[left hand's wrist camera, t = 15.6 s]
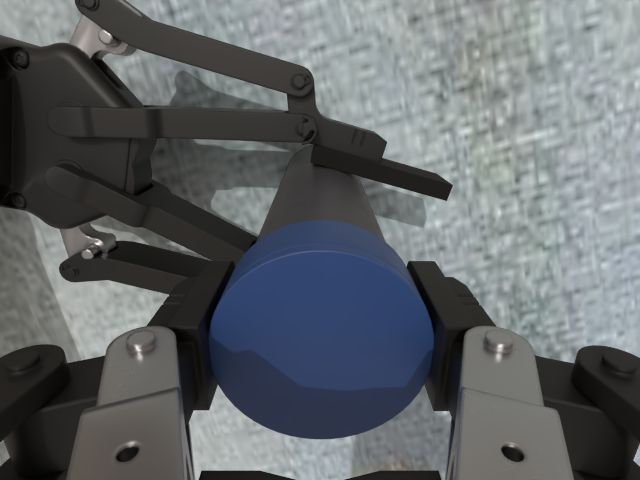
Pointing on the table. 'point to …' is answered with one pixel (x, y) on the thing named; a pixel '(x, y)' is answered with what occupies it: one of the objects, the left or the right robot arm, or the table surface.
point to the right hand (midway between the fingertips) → (420, 236)
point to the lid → (321, 332)
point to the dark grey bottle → (319, 197)
